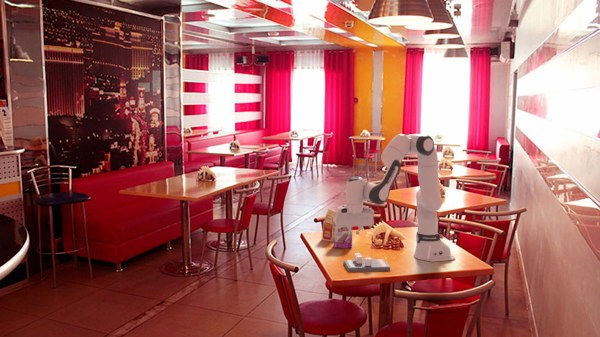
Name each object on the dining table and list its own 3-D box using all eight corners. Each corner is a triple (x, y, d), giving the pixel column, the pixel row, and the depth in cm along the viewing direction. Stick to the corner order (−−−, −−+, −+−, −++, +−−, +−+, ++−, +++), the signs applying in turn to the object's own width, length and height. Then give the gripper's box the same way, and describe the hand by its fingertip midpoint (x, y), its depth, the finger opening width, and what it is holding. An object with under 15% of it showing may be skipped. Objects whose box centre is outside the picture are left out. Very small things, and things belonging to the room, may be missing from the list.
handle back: (359, 259, 288) (359, 253, 288) (360, 260, 286) (360, 254, 285) (354, 259, 288) (354, 253, 287) (355, 261, 285) (355, 254, 285)
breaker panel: (383, 262, 291) (383, 258, 291) (390, 270, 277) (390, 266, 277) (343, 263, 289) (343, 259, 289) (348, 271, 275) (348, 267, 275)
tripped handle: (370, 264, 280) (370, 257, 279) (371, 265, 277) (371, 259, 277) (365, 264, 279) (365, 257, 279) (366, 265, 277) (366, 259, 277)
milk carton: (321, 239, 338) (321, 209, 336) (329, 236, 346) (329, 206, 343) (333, 242, 333) (334, 210, 331) (341, 238, 341) (341, 208, 338)
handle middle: (361, 262, 284) (361, 255, 283) (362, 263, 281) (362, 256, 281) (356, 262, 283) (356, 255, 283) (356, 263, 281) (357, 256, 281)
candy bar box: (333, 248, 319) (333, 221, 317) (333, 245, 324) (334, 219, 322) (352, 248, 318) (352, 222, 316) (352, 246, 323) (352, 220, 321)
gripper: (372, 206, 278) (372, 232, 280) (334, 207, 276) (333, 233, 278) (375, 209, 272) (375, 235, 273) (336, 209, 270) (335, 236, 271)
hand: (354, 234), depth 275 cm, fingers open, 2 cm apart
